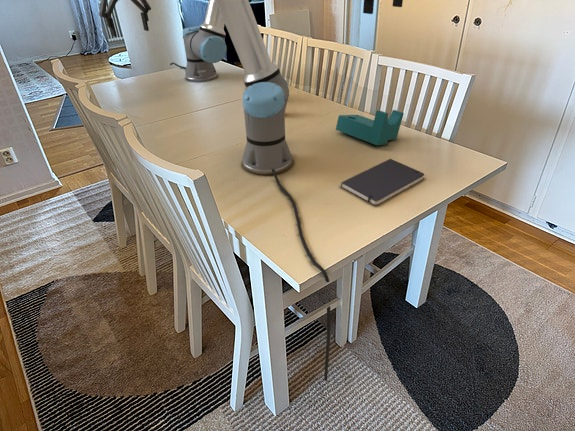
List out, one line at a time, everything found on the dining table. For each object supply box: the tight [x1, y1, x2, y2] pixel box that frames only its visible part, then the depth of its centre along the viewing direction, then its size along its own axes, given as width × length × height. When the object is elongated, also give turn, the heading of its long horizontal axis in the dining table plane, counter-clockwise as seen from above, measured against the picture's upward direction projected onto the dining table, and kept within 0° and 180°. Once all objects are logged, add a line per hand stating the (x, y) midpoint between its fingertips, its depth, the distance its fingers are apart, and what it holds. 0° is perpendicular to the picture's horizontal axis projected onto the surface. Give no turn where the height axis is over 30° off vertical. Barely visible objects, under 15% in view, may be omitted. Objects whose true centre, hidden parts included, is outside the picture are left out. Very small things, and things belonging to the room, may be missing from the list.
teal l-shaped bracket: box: [335, 109, 405, 146], centre depth 138 cm, size 18×11×10 cm, turn 43°
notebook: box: [340, 158, 425, 206], centre depth 114 cm, size 13×2×21 cm
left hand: (131, 33), depth 161 cm, fingers open, 13 cm apart
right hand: (383, 10), depth 111 cm, fingers open, 13 cm apart
